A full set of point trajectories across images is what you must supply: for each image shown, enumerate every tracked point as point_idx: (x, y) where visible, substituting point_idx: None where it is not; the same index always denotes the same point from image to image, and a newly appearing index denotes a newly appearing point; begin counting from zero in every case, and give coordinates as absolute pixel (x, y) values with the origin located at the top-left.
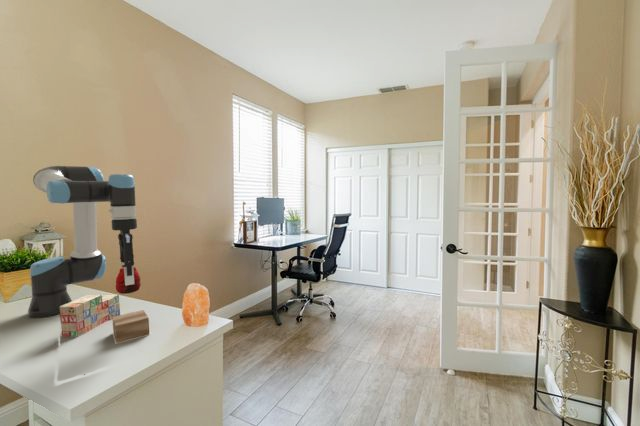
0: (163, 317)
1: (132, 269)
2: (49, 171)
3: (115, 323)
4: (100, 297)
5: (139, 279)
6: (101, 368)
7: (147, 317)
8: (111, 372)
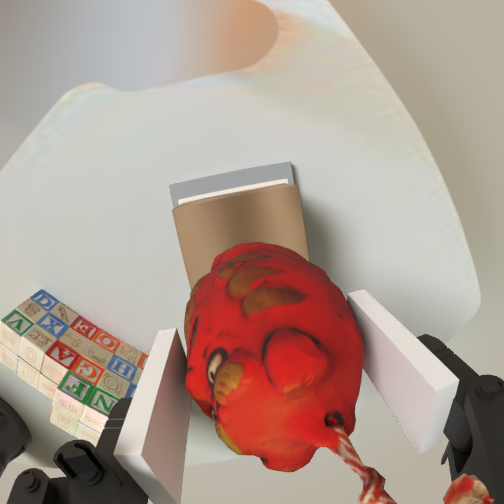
0: (116, 141)
1: (434, 363)
2: None
3: None
4: (66, 387)
5: (290, 260)
6: (405, 291)
7: (288, 189)
8: (433, 267)
